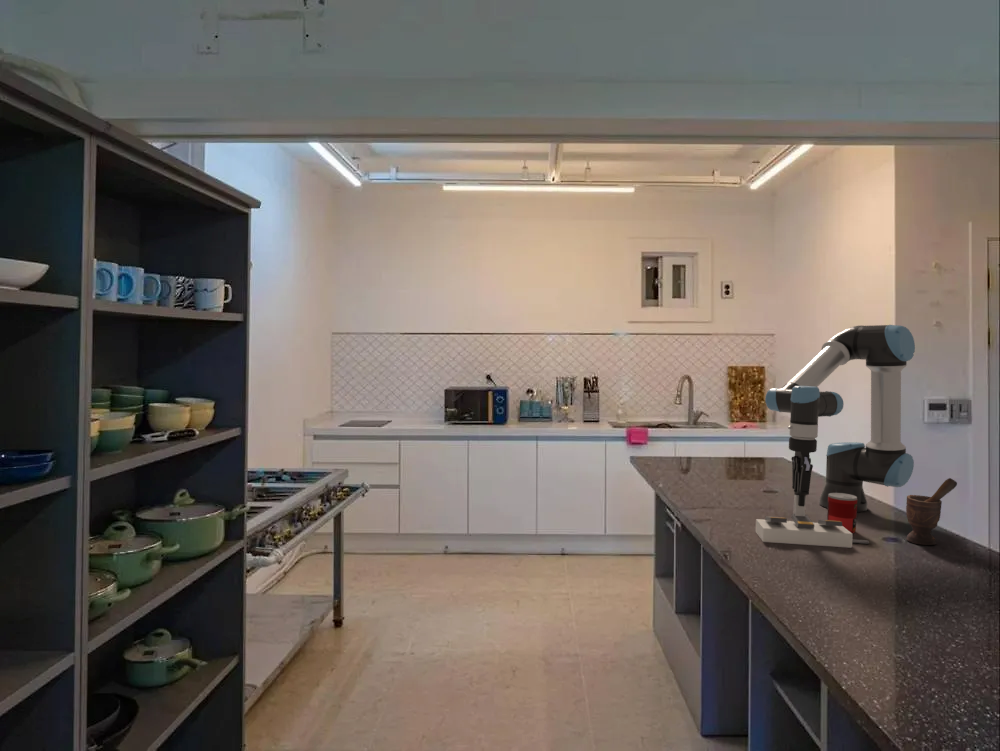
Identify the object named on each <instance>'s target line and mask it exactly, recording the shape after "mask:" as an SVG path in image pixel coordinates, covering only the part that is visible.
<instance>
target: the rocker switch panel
mask: <svg viewBox="0 0 1000 751" xmlns="http://www.w3.org/2000/svg"><path fill="white" fill-rule="evenodd" d="M813 524H814V529H810V528H798V527H797V526H796V524H795V522H794V521H793V520H787V523H782V522H770V521H766V520H765V518H763V519H759V518H756V519H755V533H756V535H757V536H758V537H759V539H760V540H761V541H762V543H776V544H792V545H805V546H807V545H808V546H821V547H822V546H823V547H836V548H837V547H838V548H847V549H848V548H851V549H852V548H853V544H861V545H862V544H863V545H864V544H865V545H869V544H870V542H869V540H868V539H854V538H853V534H854V533H851V532H850V531H848V530H847V529H846V528H845V527H843V526H830V525H822V524H818V522H813Z"/></svg>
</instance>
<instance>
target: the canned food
mask: <svg viewBox="0 0 1000 751" xmlns="http://www.w3.org/2000/svg"><path fill="white" fill-rule="evenodd" d="M826 513H827V515H826V516H827V517H826V520H834V521H841V522H842V526H843V527H845V528H846V529H847V530H848V531H850V532H851V533H852V534H854V533H855V532H856V530H857V516H858V514H857V497H856V496H854V495H850V494H845V493H830V494H828V508H827V512H826Z"/></svg>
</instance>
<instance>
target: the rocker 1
mask: <svg viewBox="0 0 1000 751" xmlns="http://www.w3.org/2000/svg"><path fill="white" fill-rule="evenodd" d="M764 520H766V521H770V522H782V523H787V521H788V520H787V517H782V516H780V517H779V516H765V517H764Z"/></svg>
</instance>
